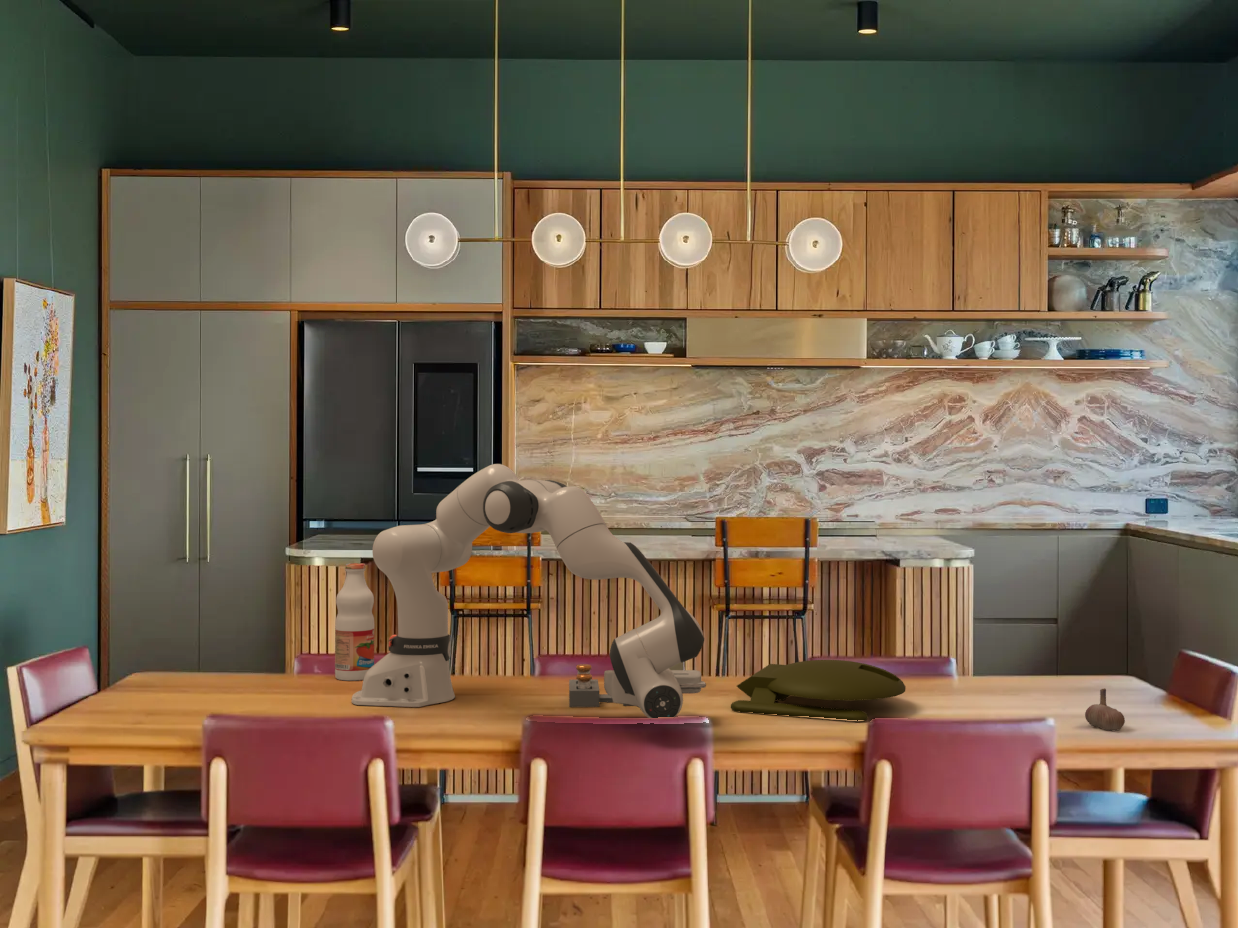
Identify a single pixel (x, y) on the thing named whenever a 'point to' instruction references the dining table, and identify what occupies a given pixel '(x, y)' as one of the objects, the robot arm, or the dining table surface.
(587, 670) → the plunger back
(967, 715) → the dining table surface
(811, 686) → the spaceship
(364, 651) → the fruit juice
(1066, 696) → the dining table surface
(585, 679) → the plunger front
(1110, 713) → the garlic bulb
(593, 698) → the grey double well tray
